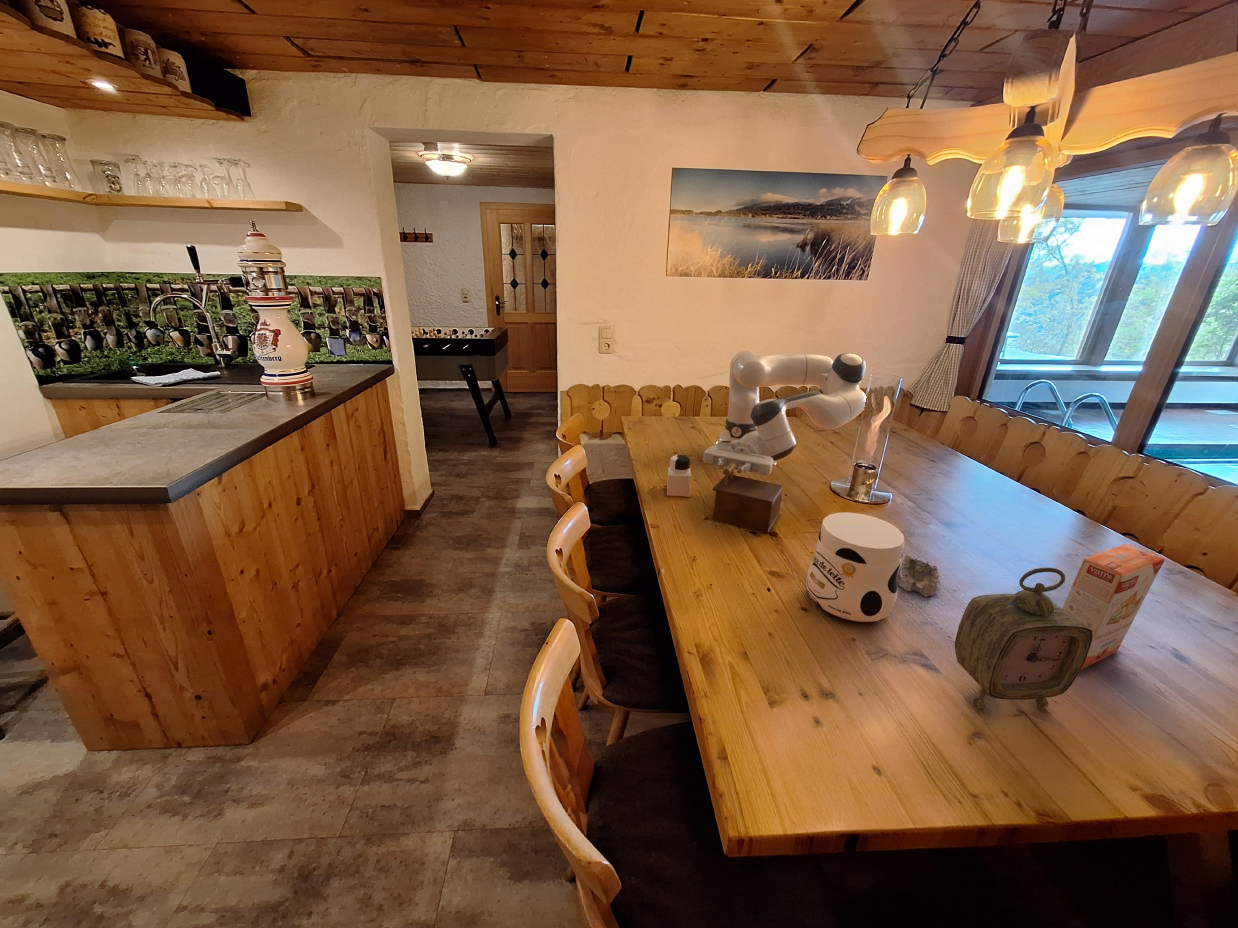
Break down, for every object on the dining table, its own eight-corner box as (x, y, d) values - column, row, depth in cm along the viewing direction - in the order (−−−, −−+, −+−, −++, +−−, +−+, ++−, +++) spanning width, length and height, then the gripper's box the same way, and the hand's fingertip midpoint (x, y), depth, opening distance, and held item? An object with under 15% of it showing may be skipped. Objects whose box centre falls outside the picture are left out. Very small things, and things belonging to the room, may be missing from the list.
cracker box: (1079, 675, 86) (1125, 575, 79) (1040, 652, 92) (1080, 556, 84) (1120, 653, 92) (1168, 557, 84) (1082, 633, 97) (1123, 541, 89)
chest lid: (712, 490, 137) (714, 470, 135) (727, 476, 147) (729, 457, 145) (771, 504, 129) (774, 483, 127) (782, 487, 139) (785, 468, 137)
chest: (712, 519, 140) (715, 491, 136) (727, 503, 150) (729, 476, 147) (767, 533, 132) (771, 504, 129) (778, 515, 143) (782, 488, 139)
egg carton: (933, 600, 106) (938, 584, 105) (894, 587, 110) (898, 572, 109) (937, 577, 114) (942, 562, 113) (901, 566, 118) (905, 551, 117)
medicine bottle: (688, 487, 160) (691, 453, 156) (689, 497, 153) (692, 461, 149) (667, 486, 161) (669, 452, 156) (666, 495, 154) (669, 460, 150)
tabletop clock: (974, 717, 78) (1023, 585, 69) (937, 673, 86) (976, 551, 77) (1060, 714, 79) (1120, 583, 70) (1015, 671, 87) (1063, 550, 78)
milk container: (789, 604, 104) (802, 529, 98) (821, 571, 116) (835, 502, 109) (876, 643, 93) (897, 562, 87) (901, 602, 105) (921, 529, 99)
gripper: (777, 471, 147) (765, 486, 135) (712, 458, 156) (695, 471, 145) (779, 451, 144) (767, 465, 133) (713, 439, 154) (697, 451, 143)
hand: (729, 468), depth 139 cm, fingers open, 4 cm apart
